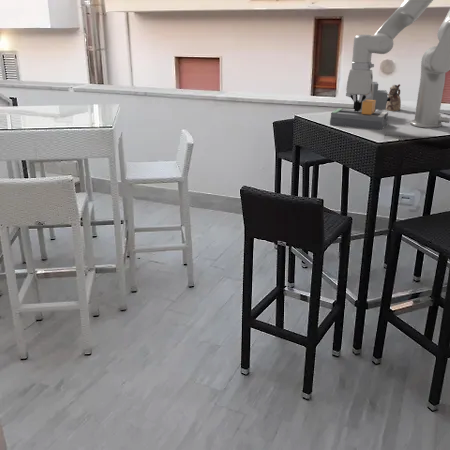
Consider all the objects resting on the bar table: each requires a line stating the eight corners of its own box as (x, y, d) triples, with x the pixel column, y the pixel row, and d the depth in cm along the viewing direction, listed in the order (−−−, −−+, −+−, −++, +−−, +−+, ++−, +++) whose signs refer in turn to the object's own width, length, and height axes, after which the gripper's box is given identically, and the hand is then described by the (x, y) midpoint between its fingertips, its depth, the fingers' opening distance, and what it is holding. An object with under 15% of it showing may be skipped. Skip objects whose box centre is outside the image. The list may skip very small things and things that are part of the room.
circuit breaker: (388, 118, 223) (392, 84, 217) (356, 117, 226) (359, 83, 220) (387, 114, 230) (390, 81, 224) (355, 114, 232) (358, 81, 226)
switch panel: (387, 124, 212) (388, 111, 210) (381, 129, 203) (382, 116, 201) (337, 119, 222) (338, 107, 219) (329, 124, 213) (330, 112, 211)
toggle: (373, 116, 211) (375, 100, 208) (370, 119, 206) (372, 102, 203) (364, 116, 213) (366, 99, 210) (361, 118, 208) (362, 101, 205)
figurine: (382, 108, 243) (385, 83, 238) (394, 107, 245) (398, 83, 240) (389, 111, 237) (392, 85, 232) (403, 110, 238) (406, 85, 233)
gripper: (381, 66, 203) (376, 110, 210) (345, 64, 209) (342, 108, 217) (377, 68, 197) (372, 113, 204) (340, 66, 203) (337, 111, 211)
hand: (357, 110), depth 210 cm, fingers closed
